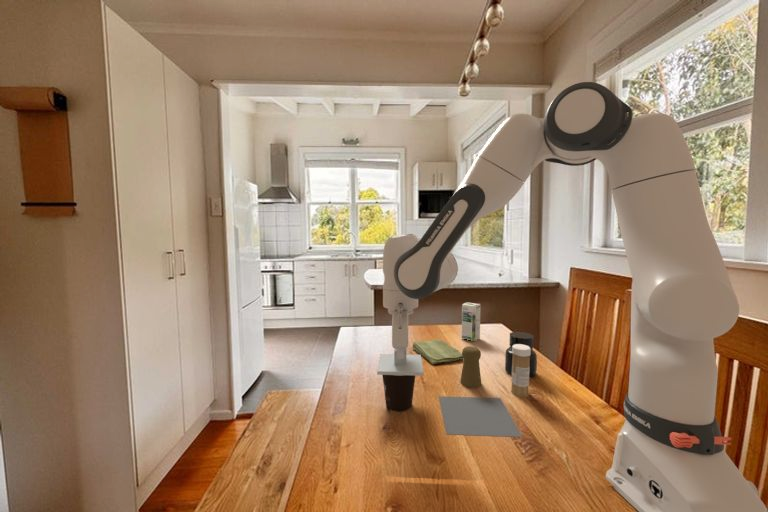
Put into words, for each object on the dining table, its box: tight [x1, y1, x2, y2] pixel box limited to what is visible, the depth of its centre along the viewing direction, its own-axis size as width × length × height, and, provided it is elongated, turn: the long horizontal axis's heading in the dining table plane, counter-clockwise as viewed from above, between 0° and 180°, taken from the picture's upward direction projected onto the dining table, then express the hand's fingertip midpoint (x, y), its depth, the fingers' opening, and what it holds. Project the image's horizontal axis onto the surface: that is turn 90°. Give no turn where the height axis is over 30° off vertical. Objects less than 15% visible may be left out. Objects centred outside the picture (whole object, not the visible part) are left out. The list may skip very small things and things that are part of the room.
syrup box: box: [460, 302, 482, 342], centre depth 132 cm, size 6×6×14 cm
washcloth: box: [412, 339, 464, 365], centre depth 116 cm, size 13×18×3 cm
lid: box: [376, 348, 425, 377], centre depth 83 cm, size 11×11×4 cm
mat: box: [438, 395, 523, 438], centre depth 77 cm, size 16×16×1 cm
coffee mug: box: [381, 375, 416, 413], centre depth 83 cm, size 12×9×10 cm
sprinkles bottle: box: [510, 344, 531, 398], centre depth 87 cm, size 5×5×13 cm
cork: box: [459, 345, 482, 389], centre depth 93 cm, size 6×6×11 cm
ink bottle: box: [504, 331, 538, 379], centre depth 101 cm, size 10×9×12 cm
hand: (400, 353), depth 82 cm, fingers open, 4 cm apart
